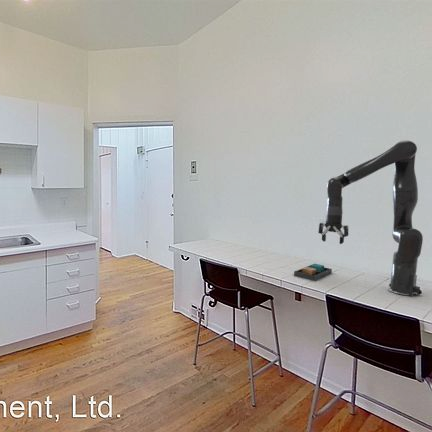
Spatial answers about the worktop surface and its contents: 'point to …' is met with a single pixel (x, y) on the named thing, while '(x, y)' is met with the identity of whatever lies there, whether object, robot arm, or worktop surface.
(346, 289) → the worktop surface
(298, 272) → the dark grey compartment tray
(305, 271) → the tan rounded lump
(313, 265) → the teal block
